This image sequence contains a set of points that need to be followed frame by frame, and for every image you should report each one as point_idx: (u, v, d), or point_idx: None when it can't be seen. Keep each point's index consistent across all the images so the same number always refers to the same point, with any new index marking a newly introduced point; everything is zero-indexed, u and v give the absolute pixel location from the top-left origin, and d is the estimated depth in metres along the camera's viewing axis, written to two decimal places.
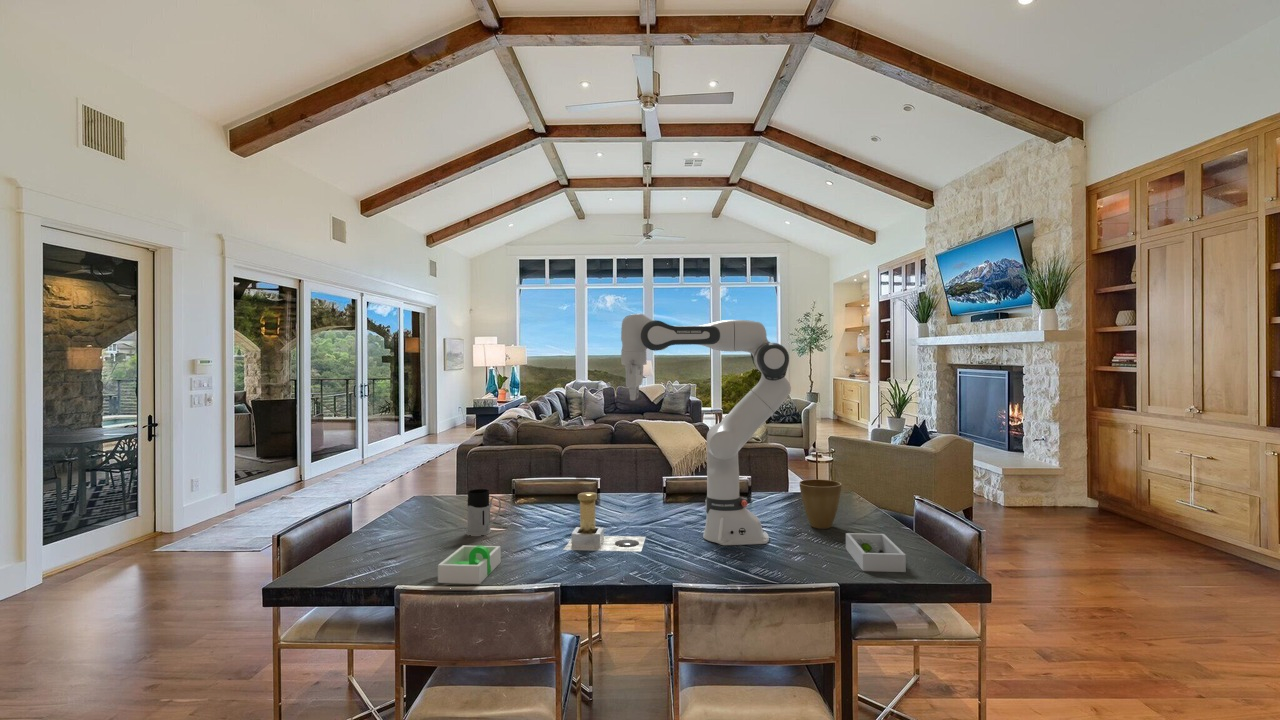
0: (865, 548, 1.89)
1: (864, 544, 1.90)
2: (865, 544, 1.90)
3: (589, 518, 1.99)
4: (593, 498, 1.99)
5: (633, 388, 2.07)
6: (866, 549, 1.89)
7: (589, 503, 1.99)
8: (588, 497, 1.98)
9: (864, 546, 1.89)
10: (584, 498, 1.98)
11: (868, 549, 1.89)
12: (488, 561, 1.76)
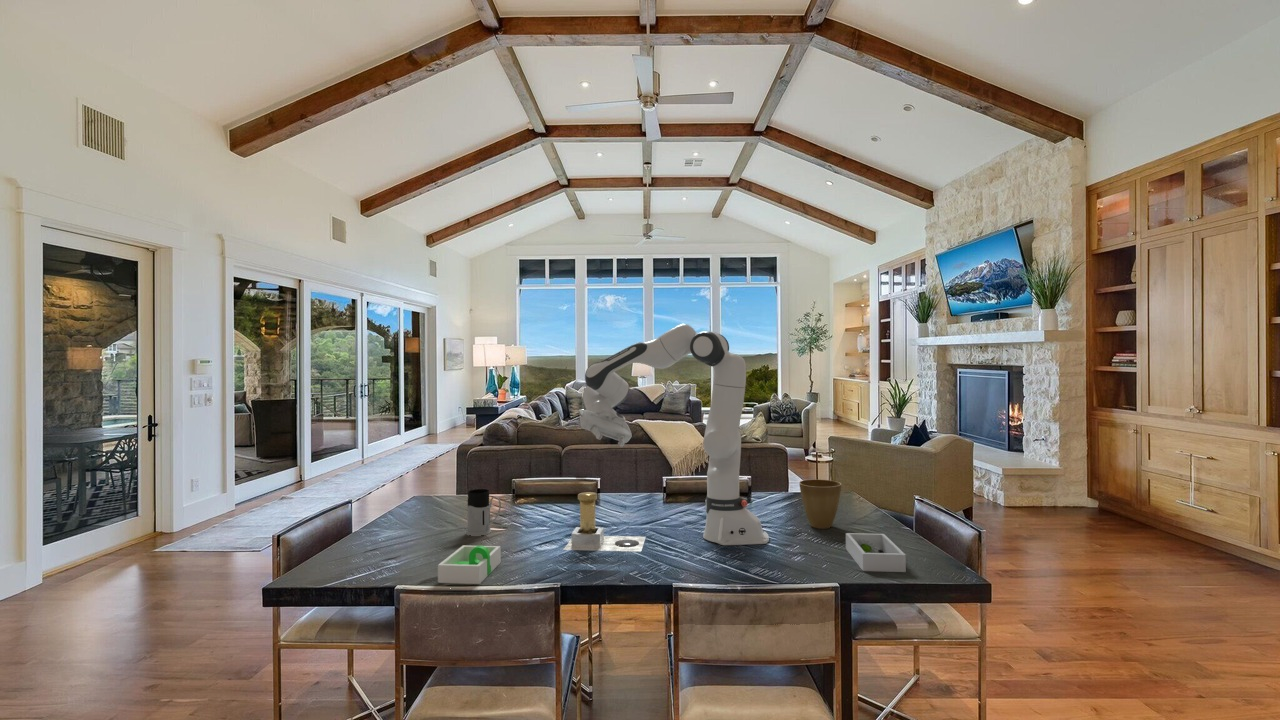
0: (865, 549, 1.88)
1: (864, 545, 1.89)
2: (865, 545, 1.89)
3: (589, 518, 1.99)
4: (593, 498, 1.99)
5: (593, 427, 2.09)
6: (866, 550, 1.88)
7: (589, 503, 1.99)
8: (588, 497, 1.98)
9: (864, 547, 1.88)
10: (584, 498, 1.98)
11: (868, 550, 1.88)
12: (488, 561, 1.76)
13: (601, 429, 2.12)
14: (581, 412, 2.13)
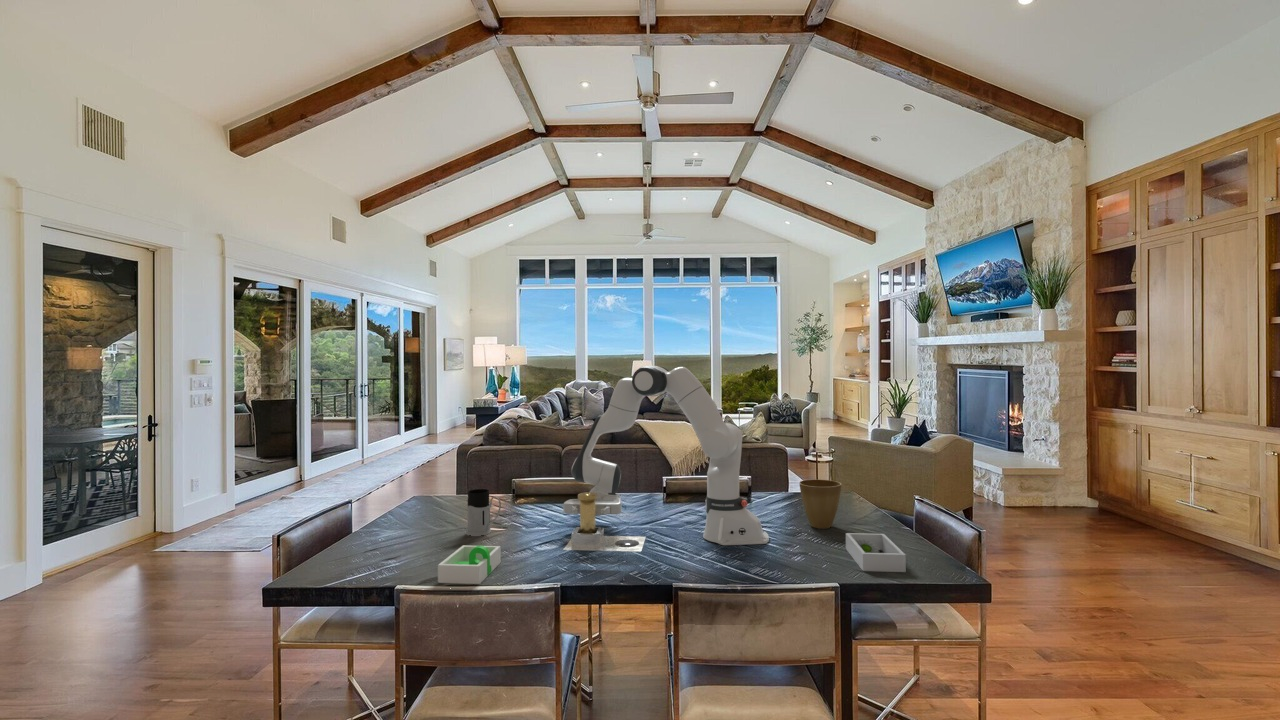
0: (865, 549, 1.88)
1: (864, 545, 1.88)
2: (865, 545, 1.88)
3: (589, 518, 1.99)
4: (593, 498, 1.99)
5: None
6: (866, 550, 1.88)
7: (589, 503, 1.99)
8: (588, 497, 1.98)
9: (864, 547, 1.88)
10: (584, 498, 1.98)
11: (868, 550, 1.88)
12: (488, 561, 1.76)
13: None
14: None
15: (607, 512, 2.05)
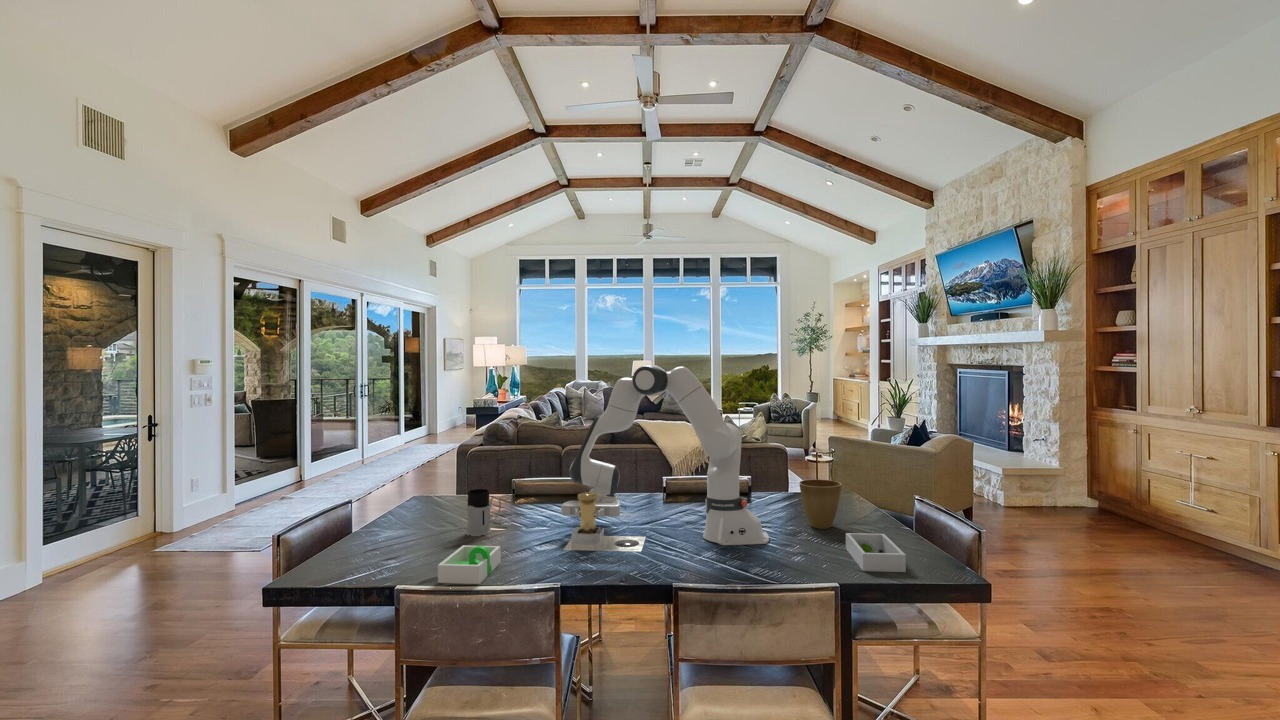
0: (865, 549, 1.88)
1: (864, 545, 1.88)
2: (865, 545, 1.88)
3: (589, 518, 1.99)
4: (593, 498, 1.99)
5: None
6: (866, 550, 1.88)
7: (589, 503, 1.99)
8: (588, 497, 1.98)
9: (864, 547, 1.88)
10: (584, 498, 1.98)
11: (868, 550, 1.88)
12: (488, 561, 1.76)
13: None
14: None
15: (601, 514, 2.02)
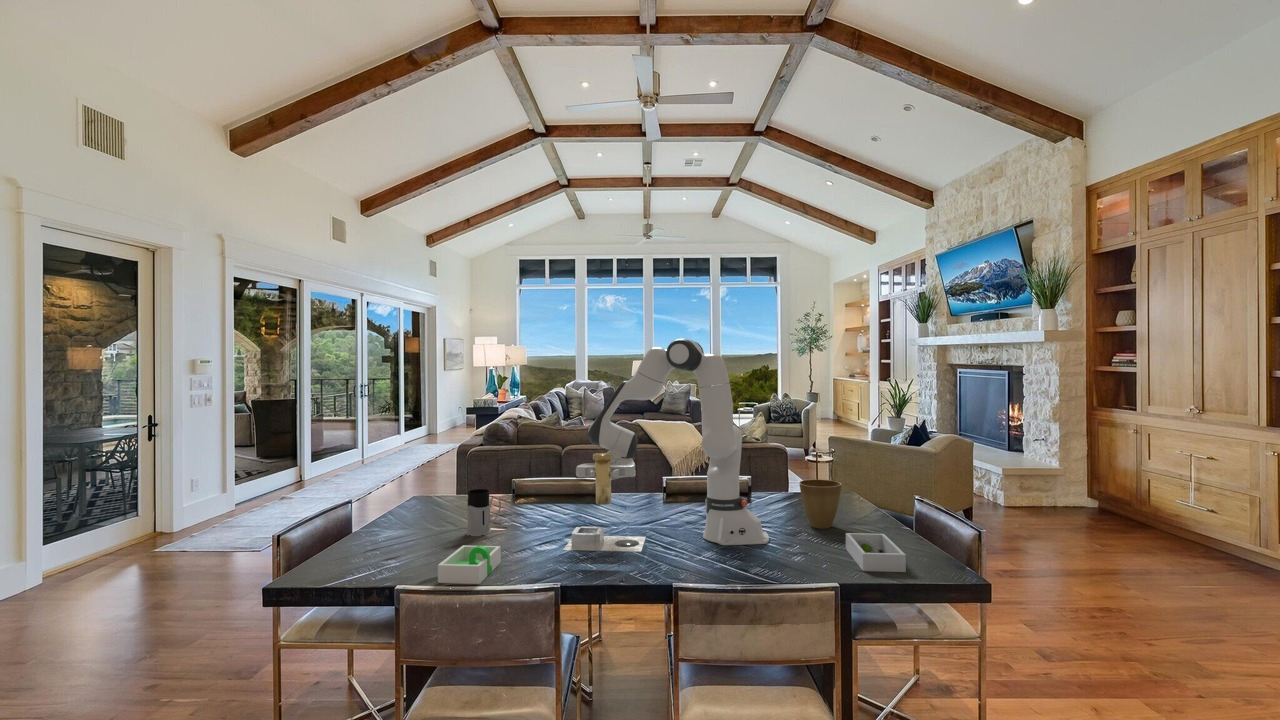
0: (865, 549, 1.88)
1: (864, 545, 1.88)
2: (865, 545, 1.88)
3: (604, 478, 1.98)
4: (608, 457, 1.98)
5: None
6: (866, 550, 1.88)
7: (604, 463, 1.98)
8: (603, 456, 1.98)
9: (864, 547, 1.88)
10: (599, 457, 1.98)
11: (868, 550, 1.88)
12: (488, 561, 1.76)
13: None
14: None
15: (616, 474, 2.02)
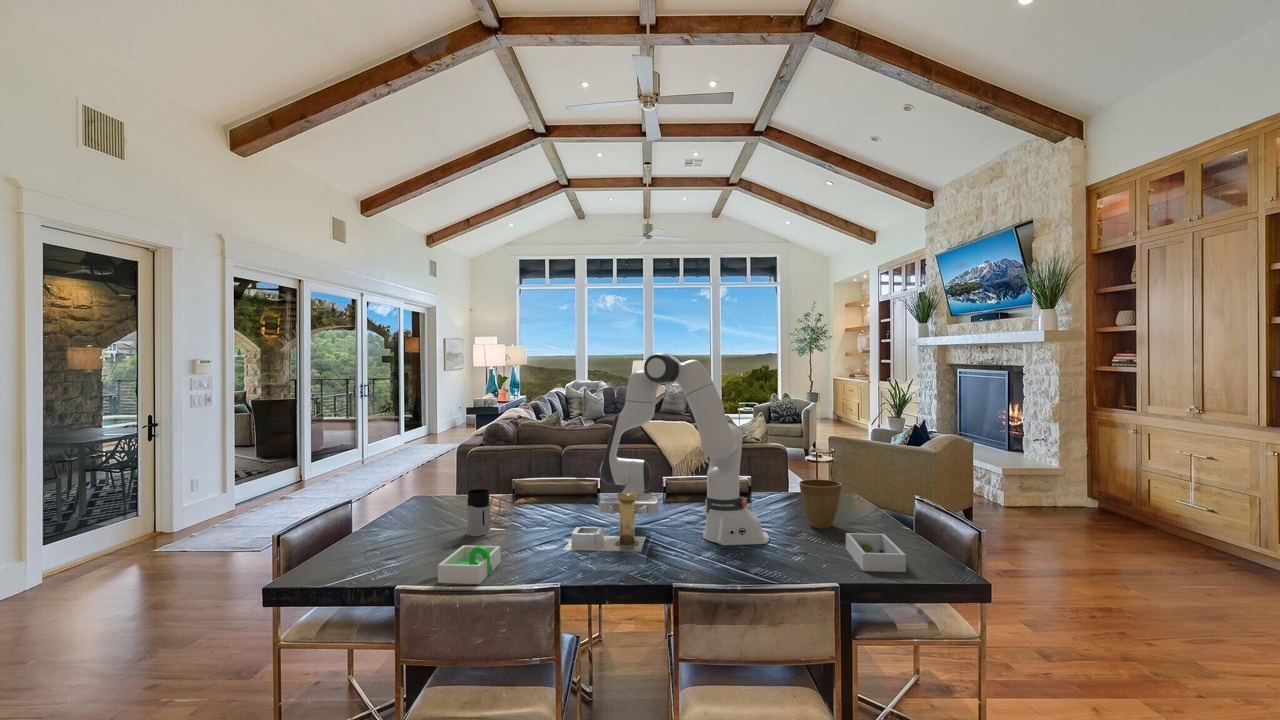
0: (865, 549, 1.88)
1: (864, 545, 1.88)
2: (865, 545, 1.88)
3: (628, 519, 1.98)
4: (633, 498, 1.98)
5: None
6: (866, 550, 1.88)
7: (629, 503, 1.98)
8: (628, 497, 1.97)
9: (864, 547, 1.88)
10: (624, 498, 1.97)
11: (868, 550, 1.88)
12: (488, 561, 1.76)
13: None
14: None
15: (644, 511, 2.01)
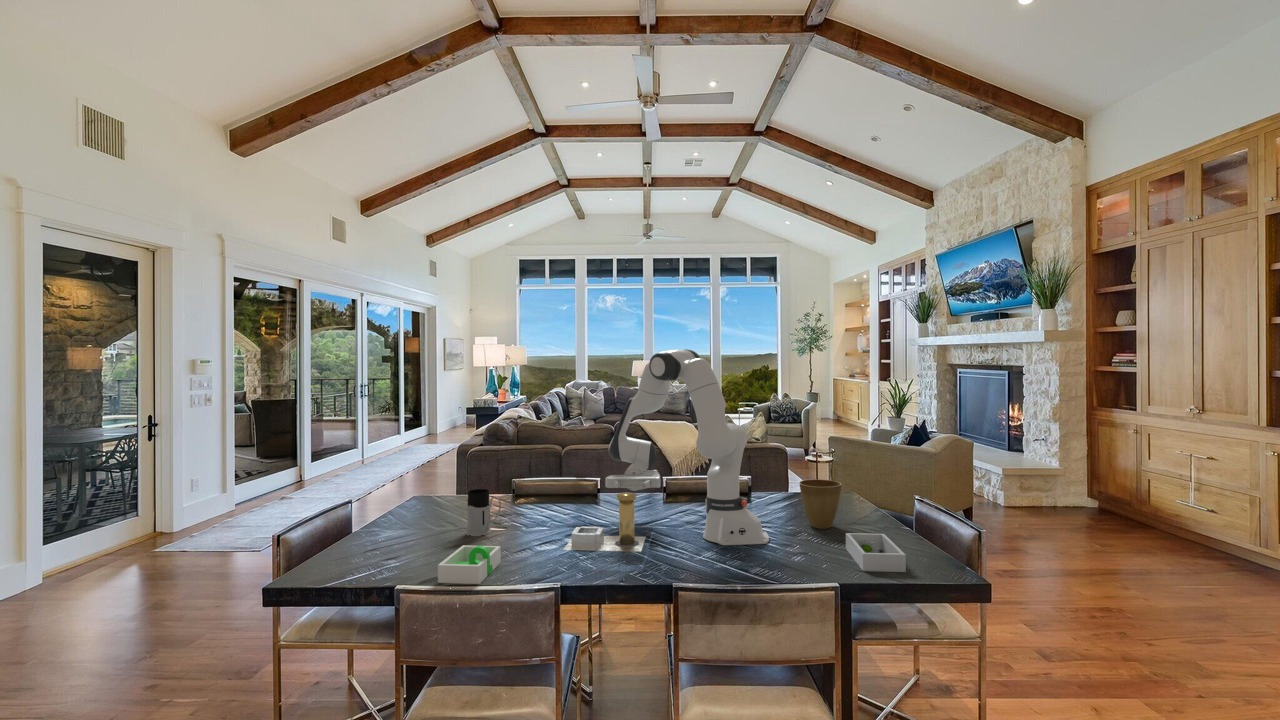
0: (866, 549, 1.88)
1: (864, 545, 1.88)
2: (865, 545, 1.88)
3: (628, 519, 1.98)
4: (632, 498, 1.98)
5: None
6: (867, 550, 1.88)
7: (628, 503, 1.98)
8: (628, 497, 1.97)
9: (865, 547, 1.88)
10: (624, 498, 1.97)
11: (869, 550, 1.88)
12: (488, 561, 1.76)
13: (625, 482, 2.21)
14: None
15: (648, 485, 2.17)
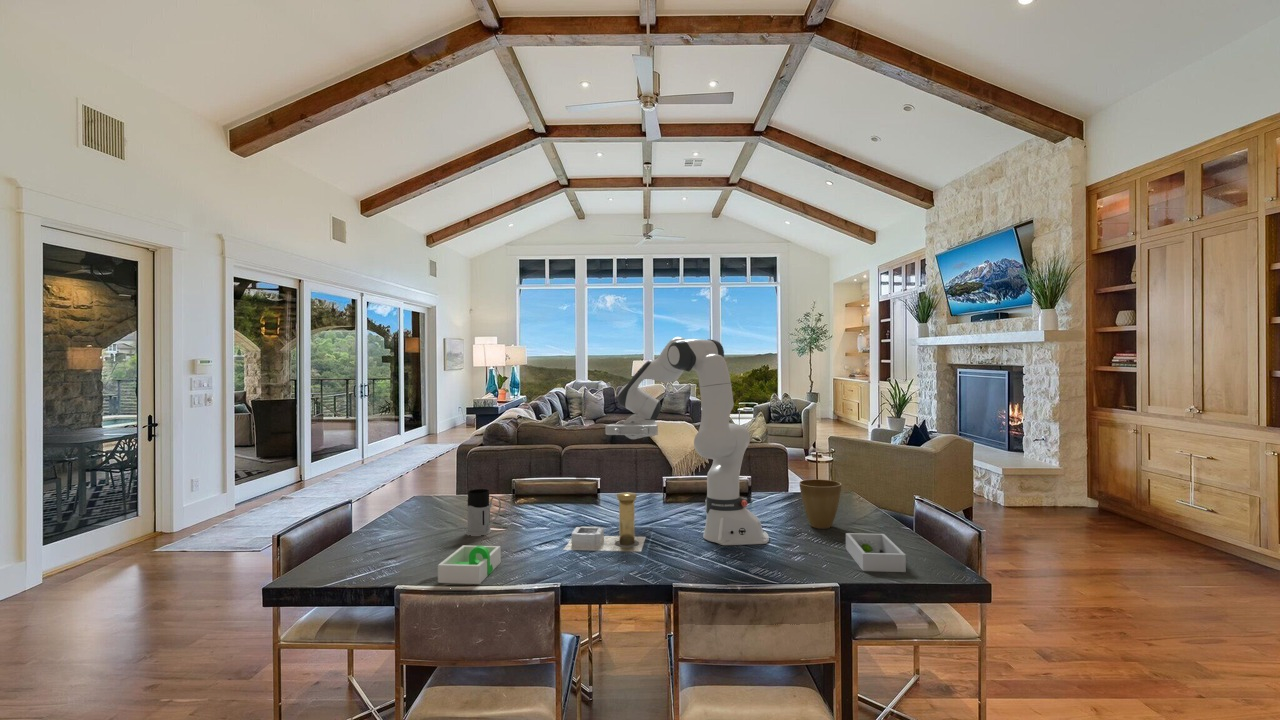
0: (866, 549, 1.88)
1: (865, 545, 1.88)
2: (866, 545, 1.88)
3: (628, 519, 1.98)
4: (633, 498, 1.98)
5: (613, 429, 2.32)
6: (867, 550, 1.88)
7: (628, 503, 1.98)
8: (628, 497, 1.97)
9: (865, 547, 1.88)
10: (624, 498, 1.97)
11: (869, 550, 1.88)
12: (488, 561, 1.76)
13: (624, 430, 2.33)
14: None
15: (645, 432, 2.29)
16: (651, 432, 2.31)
